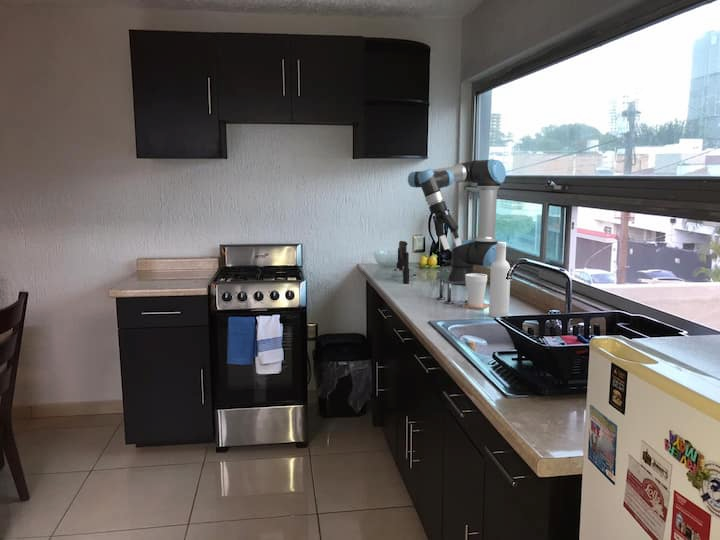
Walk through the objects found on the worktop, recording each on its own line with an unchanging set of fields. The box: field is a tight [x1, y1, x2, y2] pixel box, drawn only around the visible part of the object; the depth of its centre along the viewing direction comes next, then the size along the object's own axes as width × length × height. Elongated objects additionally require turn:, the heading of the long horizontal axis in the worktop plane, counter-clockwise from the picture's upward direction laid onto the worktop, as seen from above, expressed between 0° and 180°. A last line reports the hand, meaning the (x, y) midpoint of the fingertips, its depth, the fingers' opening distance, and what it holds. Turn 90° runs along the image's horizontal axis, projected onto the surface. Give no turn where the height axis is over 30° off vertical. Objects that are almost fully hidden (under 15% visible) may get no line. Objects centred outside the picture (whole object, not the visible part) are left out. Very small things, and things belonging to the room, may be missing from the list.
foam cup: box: [465, 272, 488, 306], centre depth 252 cm, size 10×9×13 cm
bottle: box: [488, 241, 511, 319], centre depth 234 cm, size 8×8×30 cm
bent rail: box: [436, 278, 468, 305], centre depth 263 cm, size 11×18×10 cm, turn 58°
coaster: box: [461, 302, 489, 311], centre depth 253 cm, size 9×9×1 cm
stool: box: [387, 240, 418, 285], centre depth 321 cm, size 16×21×33 cm
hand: (453, 247), depth 263 cm, fingers open, 13 cm apart
